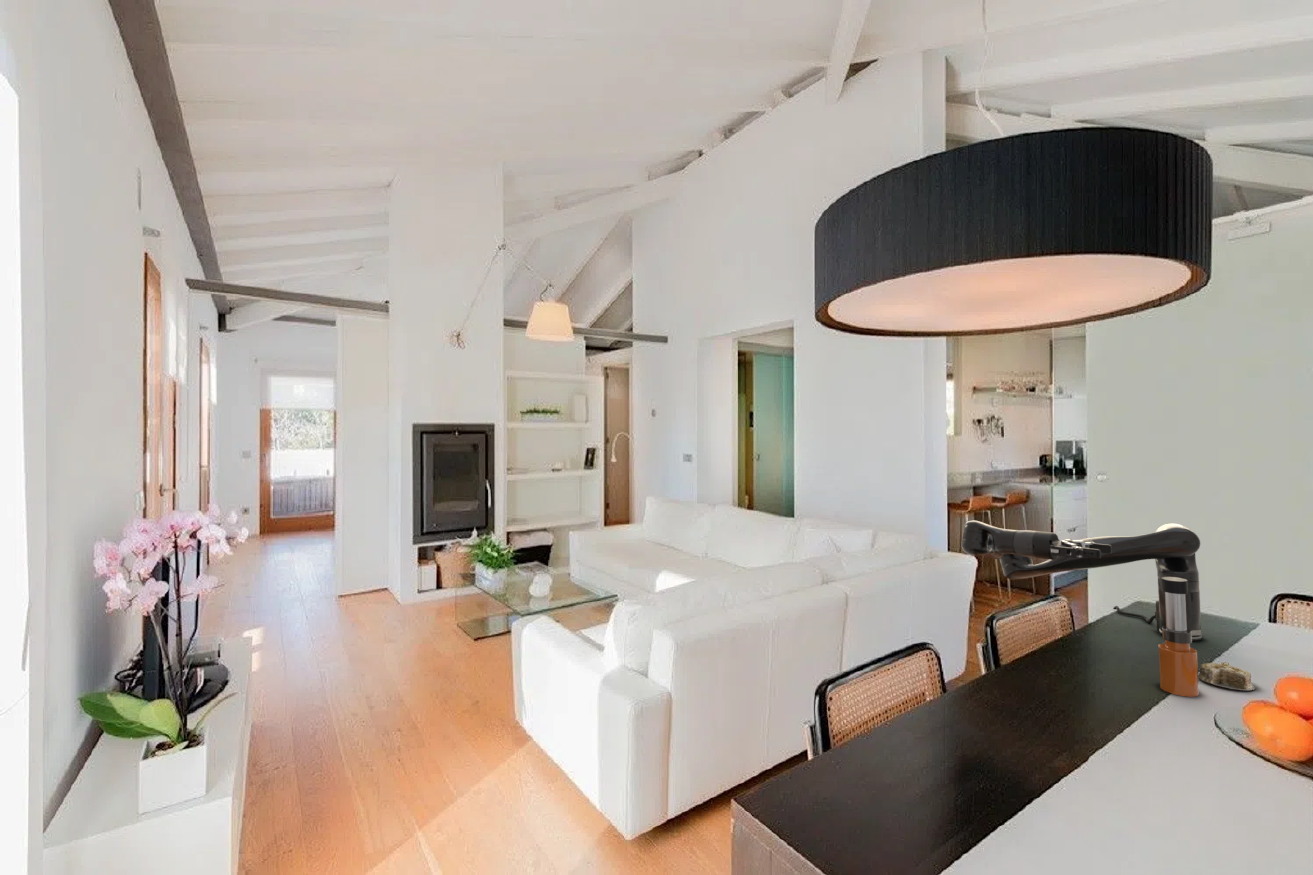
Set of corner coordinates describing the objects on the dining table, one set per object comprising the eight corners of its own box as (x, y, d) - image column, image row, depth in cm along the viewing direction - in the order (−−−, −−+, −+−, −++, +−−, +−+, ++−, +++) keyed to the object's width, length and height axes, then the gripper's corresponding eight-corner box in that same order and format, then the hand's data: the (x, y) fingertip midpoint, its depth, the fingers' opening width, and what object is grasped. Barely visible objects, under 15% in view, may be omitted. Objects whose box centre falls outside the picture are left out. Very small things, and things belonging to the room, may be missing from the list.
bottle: (1152, 685, 140) (1150, 625, 140) (1179, 683, 140) (1177, 624, 140) (1178, 697, 133) (1175, 634, 133) (1207, 696, 133) (1204, 633, 133)
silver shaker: (1158, 626, 139) (1156, 577, 139) (1176, 625, 139) (1174, 576, 139) (1176, 633, 134) (1173, 581, 134) (1195, 632, 134) (1192, 580, 135)
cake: (1190, 674, 146) (1189, 653, 146) (1243, 681, 142) (1241, 658, 142) (1207, 687, 137) (1206, 664, 137) (1264, 694, 133) (1263, 670, 133)
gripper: (1046, 553, 166) (1115, 561, 153) (1025, 561, 158) (1097, 570, 145) (1045, 528, 167) (1114, 533, 154) (1024, 534, 158) (1095, 540, 145)
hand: (1105, 551), depth 149 cm, fingers open, 8 cm apart
